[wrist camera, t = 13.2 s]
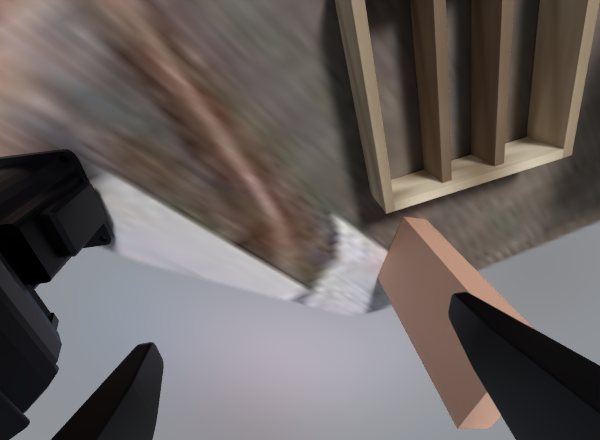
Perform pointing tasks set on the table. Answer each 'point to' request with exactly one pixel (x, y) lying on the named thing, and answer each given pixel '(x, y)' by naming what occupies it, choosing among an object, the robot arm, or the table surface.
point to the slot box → (472, 94)
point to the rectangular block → (439, 315)
